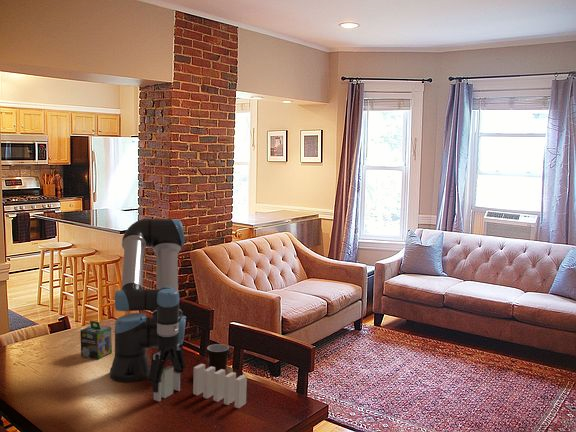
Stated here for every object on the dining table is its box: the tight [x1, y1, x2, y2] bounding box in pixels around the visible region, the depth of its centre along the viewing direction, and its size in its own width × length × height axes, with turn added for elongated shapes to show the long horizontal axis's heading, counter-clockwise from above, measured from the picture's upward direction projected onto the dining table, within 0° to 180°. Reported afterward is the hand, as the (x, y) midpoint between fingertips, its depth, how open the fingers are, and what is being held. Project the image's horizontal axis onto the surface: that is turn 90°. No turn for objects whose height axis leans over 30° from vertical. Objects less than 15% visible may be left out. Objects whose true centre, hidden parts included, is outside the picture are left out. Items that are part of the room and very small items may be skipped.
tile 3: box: [202, 366, 215, 399], centre depth 189 cm, size 2×4×10 cm, turn 151°
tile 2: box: [192, 363, 206, 396], centre depth 191 cm, size 2×4×10 cm, turn 151°
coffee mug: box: [206, 343, 230, 374], centre depth 212 cm, size 12×9×10 cm
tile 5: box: [223, 371, 237, 406], centre depth 185 cm, size 2×4×10 cm, turn 151°
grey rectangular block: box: [234, 374, 248, 409], centre depth 183 cm, size 2×4×10 cm, turn 151°
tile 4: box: [212, 369, 227, 403], centre depth 187 cm, size 2×4×10 cm, turn 151°
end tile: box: [160, 365, 174, 399], centre depth 188 cm, size 2×4×10 cm, turn 151°
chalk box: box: [80, 320, 113, 361], centre depth 224 cm, size 9×9×15 cm
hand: (167, 394), depth 189 cm, fingers open, 9 cm apart
